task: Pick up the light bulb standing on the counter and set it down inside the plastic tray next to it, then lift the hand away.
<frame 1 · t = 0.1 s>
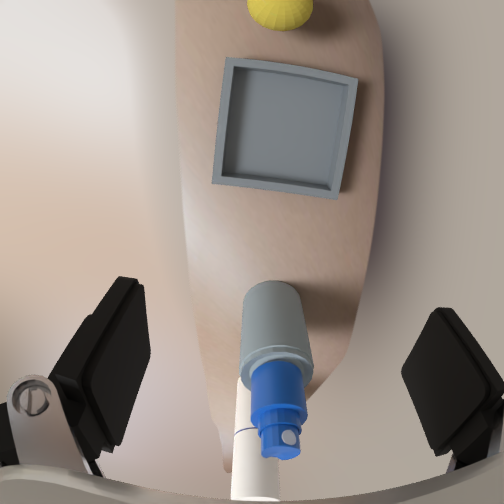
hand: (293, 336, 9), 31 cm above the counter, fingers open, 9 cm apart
light bulb: (276, 21, 29), on the counter
cylindrical container: (256, 382, 55), on the counter
tray: (282, 126, 35), on the counter
spray bottle: (272, 304, 47), on the counter
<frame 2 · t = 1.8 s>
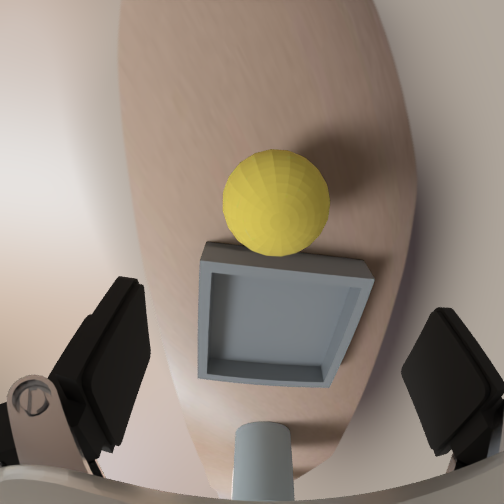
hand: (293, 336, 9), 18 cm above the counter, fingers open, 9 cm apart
light bulb: (271, 177, 25), on the counter
tray: (275, 315, 31), on the counter
spray bottle: (262, 433, 43), on the counter
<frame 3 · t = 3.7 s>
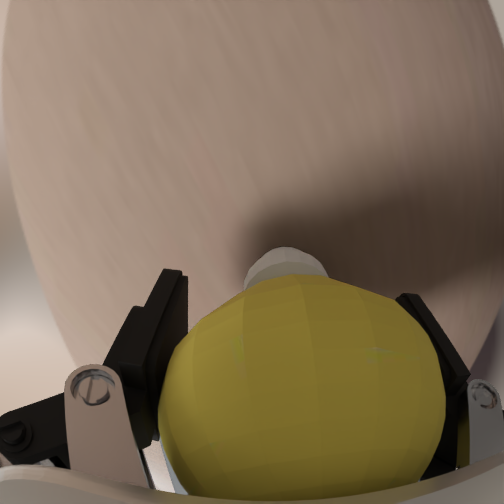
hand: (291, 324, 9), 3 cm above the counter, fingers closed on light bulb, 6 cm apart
light bulb: (283, 270, 13), on the counter, touching gripper
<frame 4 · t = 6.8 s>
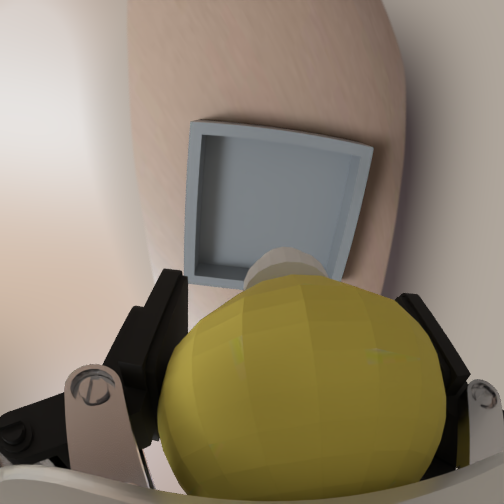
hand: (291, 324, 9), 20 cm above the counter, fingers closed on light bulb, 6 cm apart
light bulb: (283, 270, 13), point 17 cm above the counter, touching gripper
tray: (270, 205, 29), on the counter
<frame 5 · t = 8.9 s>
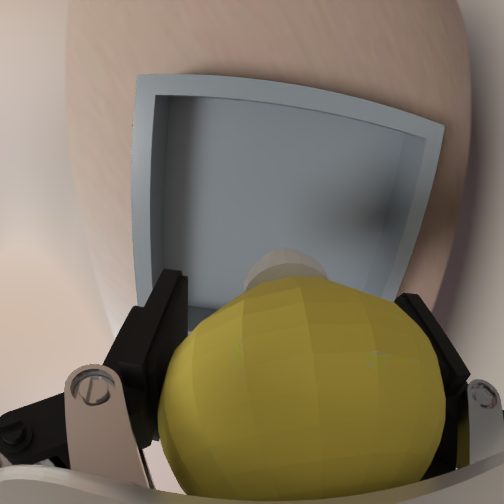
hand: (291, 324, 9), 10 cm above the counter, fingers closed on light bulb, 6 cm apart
light bulb: (283, 271, 13), point 6 cm above the counter, touching gripper
tray: (275, 217, 18), on the counter
when the fingers open (6 cm above the counter, at t = 10.3 s): light bulb drops 1 cm, resting on tray.
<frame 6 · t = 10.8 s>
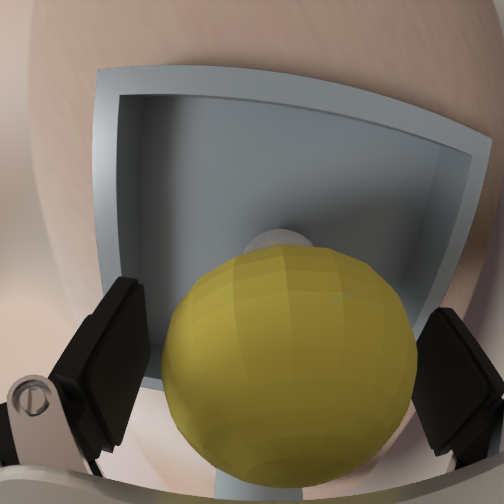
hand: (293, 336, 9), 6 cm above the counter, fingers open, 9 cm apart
light bulb: (278, 250, 14), point 1 cm above the counter, touching tray
tray: (279, 247, 15), on the counter
spray bottle: (258, 468, 26), on the counter
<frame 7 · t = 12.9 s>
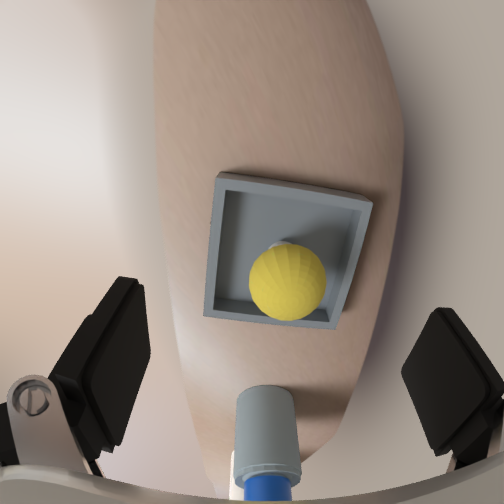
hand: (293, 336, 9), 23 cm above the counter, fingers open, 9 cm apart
light bulb: (280, 250, 32), point 1 cm above the counter, touching tray
cylindrical container: (249, 454, 51), on the counter
tray: (281, 249, 33), on the counter
spray bottle: (265, 401, 44), on the counter
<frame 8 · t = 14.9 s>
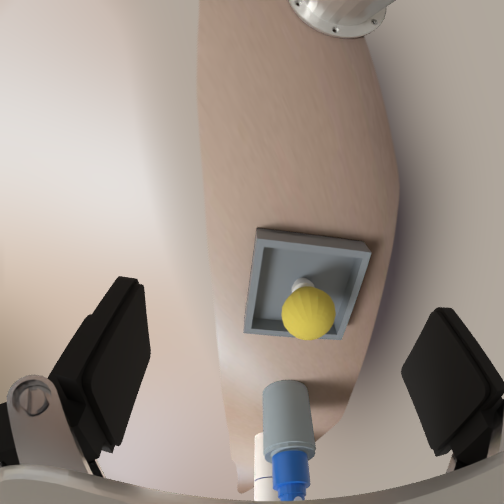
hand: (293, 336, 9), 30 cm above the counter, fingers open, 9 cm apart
light bulb: (301, 284, 43), point 1 cm above the counter, touching tray
cylindrical container: (269, 436, 63), on the counter
tray: (301, 282, 43), on the counter
spray bottle: (285, 393, 55), on the counter
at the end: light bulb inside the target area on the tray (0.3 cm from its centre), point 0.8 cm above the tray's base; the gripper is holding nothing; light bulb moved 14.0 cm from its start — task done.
